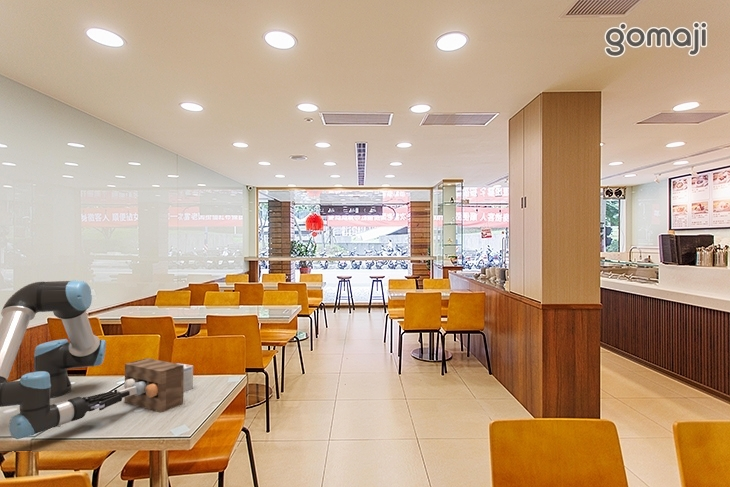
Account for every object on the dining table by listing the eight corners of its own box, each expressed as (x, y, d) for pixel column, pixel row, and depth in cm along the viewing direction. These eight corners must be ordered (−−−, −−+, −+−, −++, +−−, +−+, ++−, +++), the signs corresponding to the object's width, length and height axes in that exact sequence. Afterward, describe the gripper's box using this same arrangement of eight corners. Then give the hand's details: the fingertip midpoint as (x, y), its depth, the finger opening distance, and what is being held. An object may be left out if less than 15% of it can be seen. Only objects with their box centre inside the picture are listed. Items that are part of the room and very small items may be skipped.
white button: (124, 391, 161) (124, 378, 162) (143, 384, 169) (143, 373, 169) (131, 392, 159) (131, 380, 159) (150, 386, 167) (150, 375, 167)
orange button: (145, 396, 155) (145, 383, 155) (164, 390, 162) (164, 378, 163) (153, 398, 153) (153, 385, 153) (172, 391, 160) (172, 379, 160)
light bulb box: (164, 389, 178) (164, 366, 179) (176, 385, 185) (177, 362, 185) (181, 393, 174) (181, 369, 175) (193, 388, 181) (193, 365, 181)
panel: (124, 401, 164) (124, 363, 164) (147, 394, 173) (147, 358, 173) (161, 412, 153) (161, 371, 153) (183, 403, 162) (183, 365, 162)
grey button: (131, 394, 157) (132, 382, 157) (151, 388, 165) (151, 376, 165) (139, 396, 155) (139, 384, 155) (158, 390, 162) (158, 378, 163)
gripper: (58, 418, 138) (125, 396, 159) (78, 425, 132) (145, 402, 153) (59, 397, 138) (125, 378, 159) (79, 403, 132) (145, 382, 153)
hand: (135, 389), depth 156 cm, fingers closed
